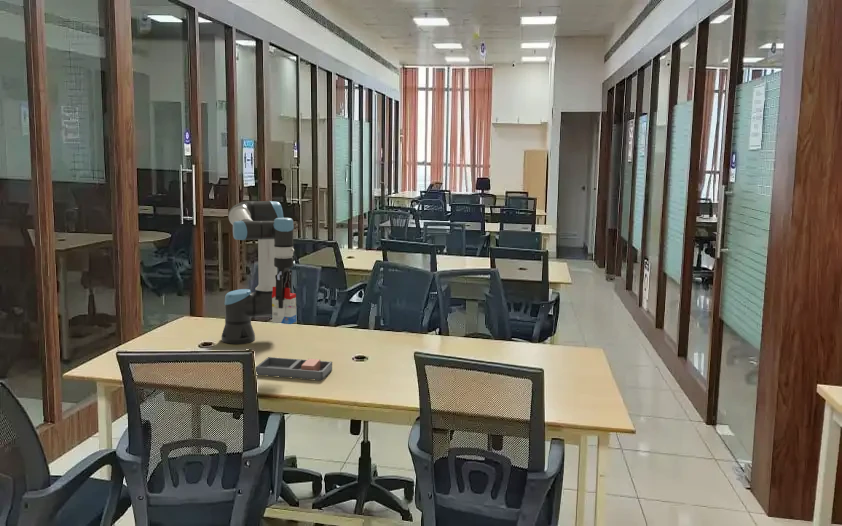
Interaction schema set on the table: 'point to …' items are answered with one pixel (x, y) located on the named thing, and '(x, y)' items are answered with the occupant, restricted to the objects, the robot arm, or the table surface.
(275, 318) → the ink box
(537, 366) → the table surface
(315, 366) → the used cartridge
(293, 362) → the caddy
